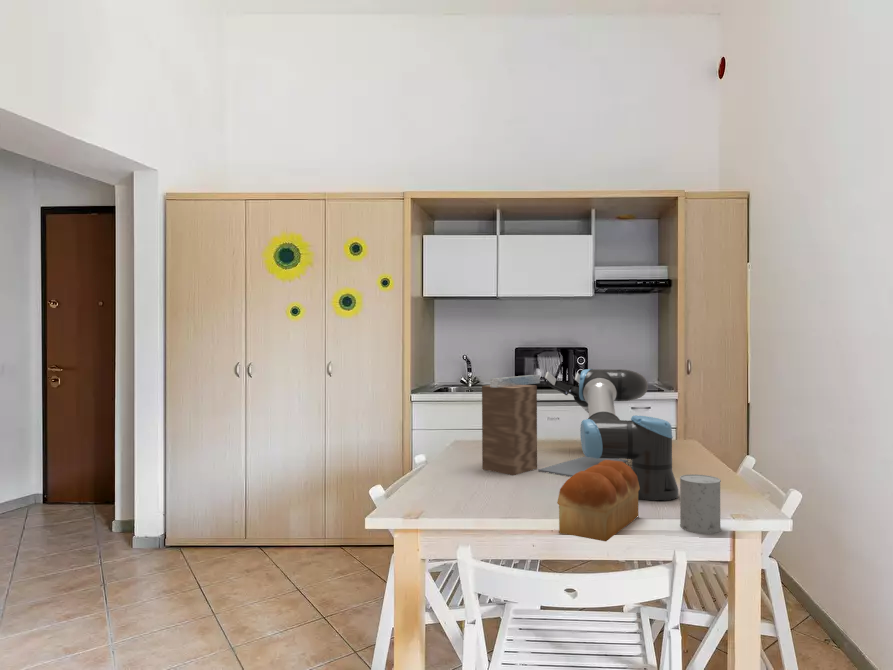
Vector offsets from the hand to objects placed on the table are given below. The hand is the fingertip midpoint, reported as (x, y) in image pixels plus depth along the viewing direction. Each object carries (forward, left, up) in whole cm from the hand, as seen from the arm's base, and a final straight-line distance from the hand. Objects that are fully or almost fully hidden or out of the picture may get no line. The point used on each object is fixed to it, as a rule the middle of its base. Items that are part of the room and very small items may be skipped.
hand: (561, 375), depth 247 cm
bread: (-82, -22, -33) cm, 91 cm away
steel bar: (-21, +13, -2) cm, 25 cm away
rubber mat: (-12, -10, -32) cm, 36 cm away
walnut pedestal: (-25, +15, -32) cm, 43 cm away
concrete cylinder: (-77, -46, -33) cm, 95 cm away
